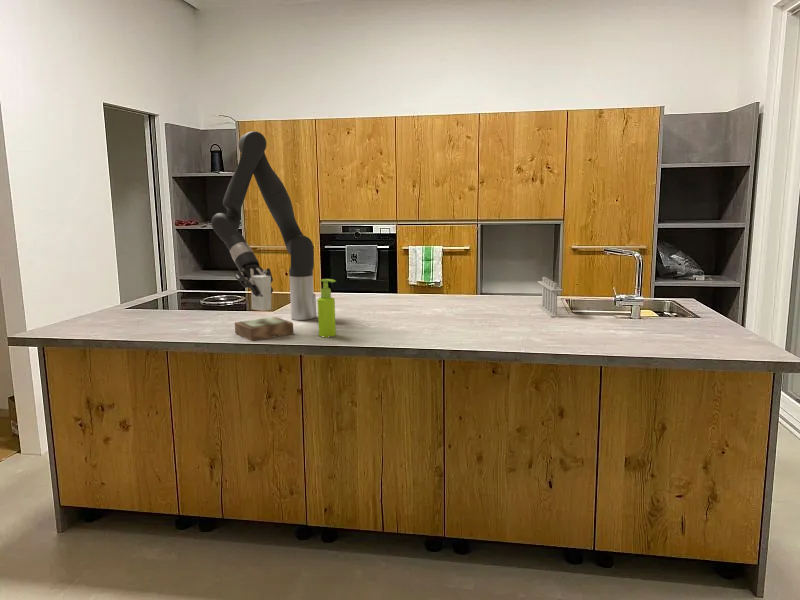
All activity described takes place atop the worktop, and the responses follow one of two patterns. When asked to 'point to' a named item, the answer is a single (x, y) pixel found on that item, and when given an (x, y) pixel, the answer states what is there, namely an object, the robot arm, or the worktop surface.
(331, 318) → the soap dispenser
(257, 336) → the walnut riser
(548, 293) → the test tube rack
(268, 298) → the skincare box
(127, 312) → the worktop surface
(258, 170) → the robot arm
